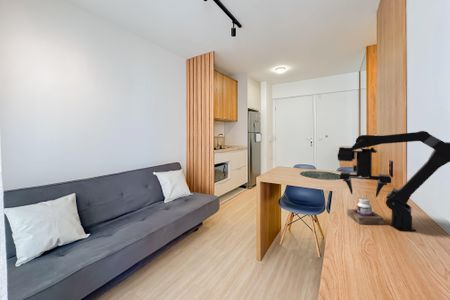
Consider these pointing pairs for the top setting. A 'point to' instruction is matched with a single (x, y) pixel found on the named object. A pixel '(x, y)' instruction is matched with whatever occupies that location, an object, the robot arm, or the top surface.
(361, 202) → the pill bottle
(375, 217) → the socket
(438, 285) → the top surface
